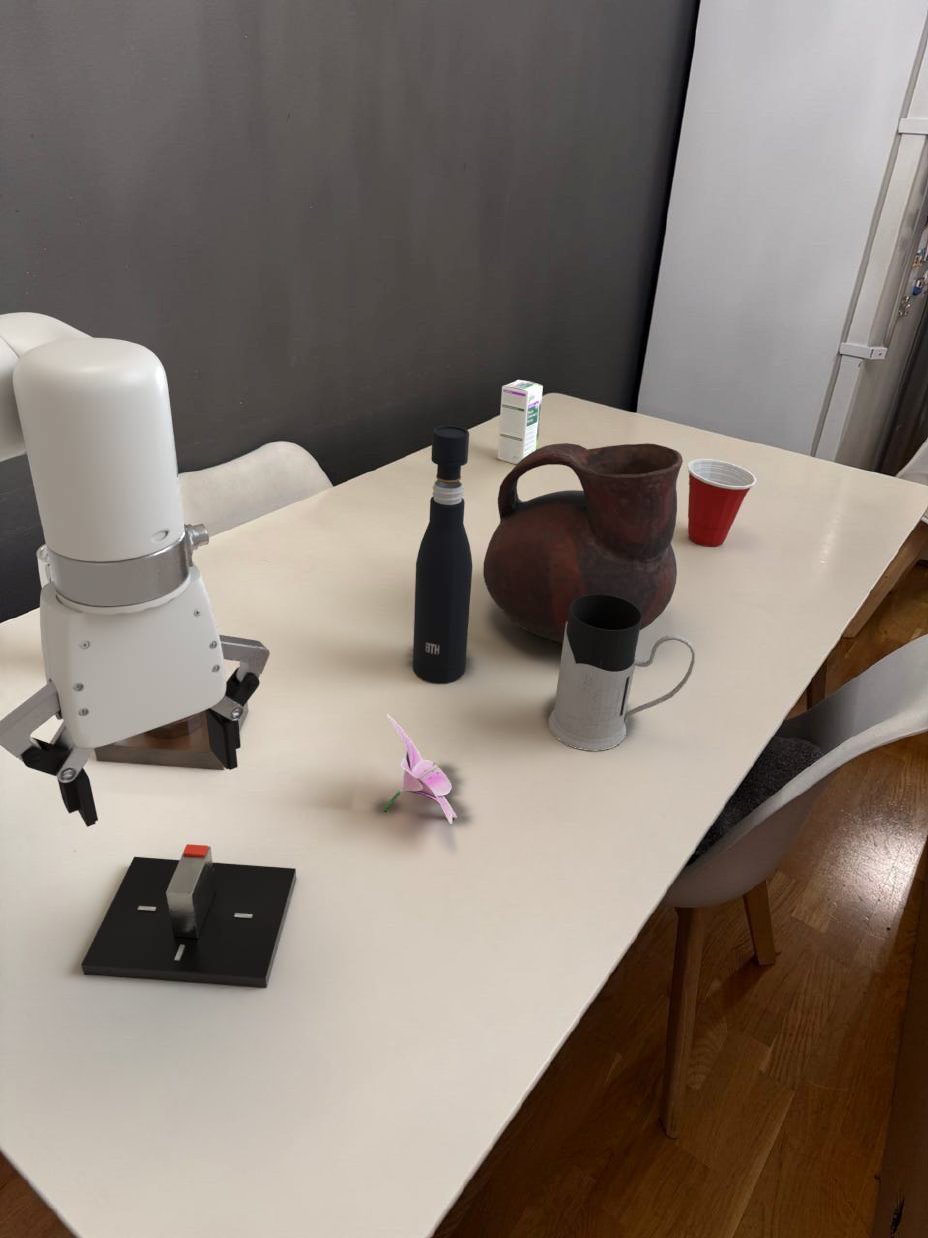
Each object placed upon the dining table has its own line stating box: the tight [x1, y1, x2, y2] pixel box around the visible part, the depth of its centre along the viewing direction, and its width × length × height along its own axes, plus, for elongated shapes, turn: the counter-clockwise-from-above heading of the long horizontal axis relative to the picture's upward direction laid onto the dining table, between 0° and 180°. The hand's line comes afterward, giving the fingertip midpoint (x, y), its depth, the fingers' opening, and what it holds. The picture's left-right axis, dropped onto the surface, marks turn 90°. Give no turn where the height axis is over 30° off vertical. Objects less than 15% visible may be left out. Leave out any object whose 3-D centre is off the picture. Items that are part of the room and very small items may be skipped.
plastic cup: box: [687, 458, 758, 547], centre depth 141 cm, size 11×11×12 cm
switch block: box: [94, 700, 249, 771], centre depth 93 cm, size 13×10×4 cm
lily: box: [382, 712, 458, 824], centre depth 84 cm, size 12×12×10 cm
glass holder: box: [548, 594, 696, 751], centre depth 95 cm, size 9×14×15 cm, turn 73°
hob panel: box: [80, 856, 297, 989], centre depth 72 cm, size 14×11×3 cm
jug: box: [482, 442, 684, 644], centre depth 113 cm, size 25×25×25 cm
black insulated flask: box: [412, 425, 473, 685], centre depth 100 cm, size 6×6×30 cm
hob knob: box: [166, 843, 216, 939], centre depth 70 cm, size 5×2×5 cm, turn 177°
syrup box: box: [497, 379, 544, 465], centre depth 167 cm, size 6×6×14 cm
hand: (157, 784), depth 60 cm, fingers open, 9 cm apart
